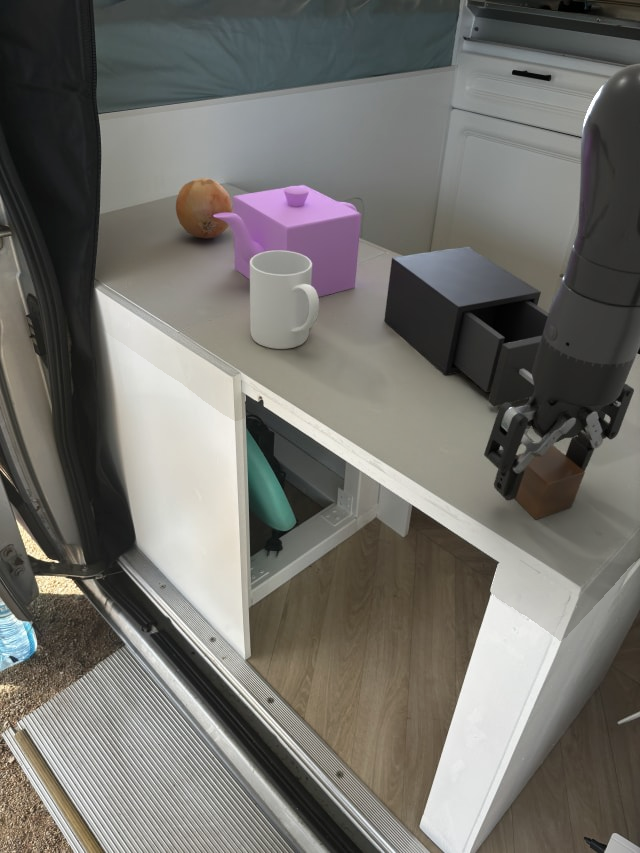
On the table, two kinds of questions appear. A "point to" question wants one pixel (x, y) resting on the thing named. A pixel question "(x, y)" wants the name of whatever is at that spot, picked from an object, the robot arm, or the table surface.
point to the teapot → (298, 233)
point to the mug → (281, 299)
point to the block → (549, 484)
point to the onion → (203, 207)
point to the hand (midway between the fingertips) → (538, 483)
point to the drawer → (501, 348)
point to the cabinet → (446, 298)
